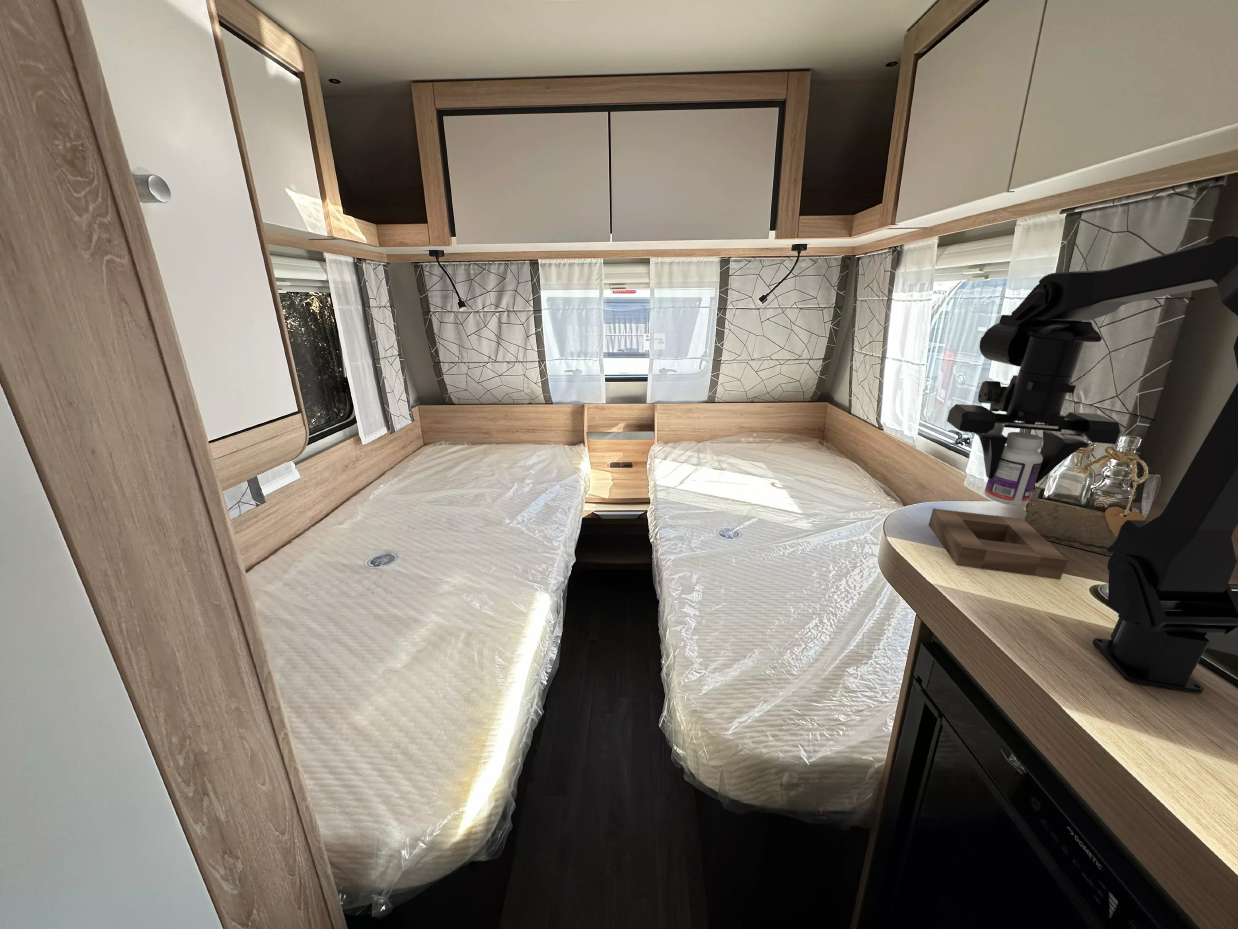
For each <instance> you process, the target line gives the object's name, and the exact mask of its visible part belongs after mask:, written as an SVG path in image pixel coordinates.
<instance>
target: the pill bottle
mask: <svg viewBox="0 0 1238 929" xmlns="http://www.w3.org/2000/svg"><path fill="white" fill-rule="evenodd" d="M1006 437H1007V438H1008V439H1007V442H1006V445H1005V448H1004V450H1003V453H1002V456H1001V459H1000V462H999V465H998V468H997V470H996V472H995V474H994V476H993V478H992V479H989V478H988V477H987V478H988V479H987V482H986V485H985V488H984V495H985V496H986V498H988V499H990V500H992V501H995V502H997V503H1000V504H1003V505H1004V504H1005V505H1009V506H1025V505H1027V504H1029V502H1030V499H1031V496H1032V494H1033V490H1034V487H1035V484H1036V483H1035V482H1036V479H1037V476H1038V473H1039V470H1040V467H1041V464H1042V460H1043V457H1042V455H1041V454H1040V452H1039V451H1038V450H1039V449H1040V450H1041V448H1042V445H1043V436H1042V437H1041V436H1039V435H1036V434H1032V433H1028V432H1021V431H1011V432H1008V433H1007V435H1006Z"/></svg>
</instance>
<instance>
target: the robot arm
mask: <svg viewBox="0 0 1238 929" xmlns="http://www.w3.org/2000/svg"><path fill="white" fill-rule="evenodd" d="M1213 287H1217V289H1218V294H1219V297H1220V302H1221V303H1222V305H1224V306H1225V307H1226V308H1227V309H1229V310H1230V311H1231V312H1232V313H1233V314H1234V315H1236V317H1238V232H1236V233H1235V232H1234V233H1230V234H1229V235H1225V236H1223V237H1221V238H1218V239H1216V240H1214V241H1211V242H1207V243H1202V244H1199V245H1196V246H1191V247H1188V248H1185V249H1181V250H1175V251H1172V252H1169V253H1165V254H1161V255H1158V256H1155V257H1154V256H1153V257H1151V258H1150V257H1149V258H1147V259H1142V260H1139V261H1136V262H1131V263H1128V264H1123V265H1120V266H1117V267H1116V266H1115V267H1112V268H1109V269H1103V270H1101V269H1100V270H1081V271H1078V270H1077V271H1062V272H1052V273H1049V274H1046V275H1045V276H1043V277H1042V278H1040V279H1039V281H1038V284H1036V286H1034V287H1033V289H1031V291H1030V292H1029V294H1027V296H1026V297H1025V298H1024V299H1023V301H1021V303H1020V304H1019V305H1018V306H1017V307H1016V308H1015V309H1014V310H1013V311H1012V312H1011V314H1001V315H1000V317H999V322H998V323H996V324H993V325H992V326H991V327H989V328H988V329H987V330H986V331H985V333H984V334H983V336H981V338H980V341H979V351H980V353H981V355H982V356H983V357H984V358H985V359H987V360H989V361H993V362H997V363H1000V364H1001V363H1003V364H1007V365H1010V366H1011V365H1012V366H1015V367H1019V371H1018V373H1017V374H1016V375H1015V374H1014V375H1012V378H1011V379H1010V382H1009V383H1008V386H1002V385H1001V381H998V380H997V381H996V380H984V381H982V382H981V385H980V388H979V391H978V397H977V401H978V403H979V404H990V405H989V409H988V408H987V407H985V406H983V405H977V404H976V405H975V404H964V403H963V404H958V403H956V404H955V405H953V406H952V407H950V409H949V411H948V415H947V418H946V422H947V423H948V424H950V425H951V426H952V427H954V428H955V429H957V431H960V432H965V433H973V434H975V435H977V437H978V438H979V440H980V444H981V448H982V452H983V453H982V454H983V461H984V469H985V476H986V478H989V479H992V478H993V476H994V474H995V472H996V470H997V468H998V465H999V462H1000V459H1001V456H1002V453H1003V450H1004V448H1005V446H1006V445H1007V444H1006V442H1007V439H1008V438H1007V436H1006V435H1004V434H1003V432H1004V428H1008V429H1022V430H1031V431H1032V430H1033V431H1034V430H1036V431H1042V438H1043V440H1042V445H1041V448H1040V452H1039V453H1040V454H1041V455H1042V457H1043V460H1042V464H1041V467H1040V470H1039V473H1038V476H1037V479H1036V482H1035V484H1038V483H1040V482H1041V481H1042V480H1043V479H1044V478H1045V477H1047V476H1048V475H1049V474H1050V472H1052V470H1054V469H1055V468H1056V467H1057V466H1059V465H1060V464H1061V463H1062V462H1064V461H1065V460H1066V459H1067V458H1069V457H1070V456H1071V455H1073V454H1074V453H1076V452H1077V451H1079V449H1083V448H1084V449H1088V447H1089V446H1090V444H1089V443H1088V442H1086V441H1084V439H1085V437H1086V438H1087V440H1088V441H1089V442H1090V443H1095V444H1096V443H1097V444H1106V445H1107V444H1109V445H1117V444H1118V442H1119V440H1120V438H1121V434H1122V432H1123V430H1122V427H1121V425H1120V423H1119V422H1118V421H1116V420H1114V419H1111V418H1109V417H1106V416H1104V415H1101V414H1098V413H1088V412H1087V413H1086V412H1074V411H1073V412H1071V411H1070V412H1068V413H1067V414H1066V415H1064V414H1062V409H1063V407H1064V403H1065V400H1066V398H1067V395H1068V394H1074V393H1075V390H1076V387H1077V386H1076V385H1075V384H1073V383H1072V381H1073V377H1074V374H1075V372H1076V371H1075V370H1076V368H1077V365H1078V362H1079V359H1080V356H1081V354H1082V353H1081V352H1082V350H1083V348H1084V344H1085V343H1100V342H1101V341H1102V340H1103V337H1102V336H1101V334H1100V332H1098V331H1097V330H1096V329H1095V328H1094V326H1093V324H1092V322H1091V321H1092V320H1096V319H1098V318H1101V317H1104V316H1106V315H1110V314H1113V313H1115V312H1116V311H1117V310H1119V309H1120V308H1121V307H1122V306H1125V305H1127V304H1131V303H1135V302H1140V301H1145V300H1150V299H1155V298H1160V297H1161V298H1162V297H1165V296H1171V295H1177V294H1182V293H1187V292H1192V291H1197V290H1202V289H1208V288H1213ZM1233 353H1234V357H1235V364H1236V368H1237V370H1238V333H1237V335H1236V338H1235V340H1234V343H1233ZM997 412H1002V413H997ZM1003 412H1005V413H1003ZM1237 526H1238V380H1237V382H1236V383H1235V386H1234V387H1233V389H1232V391H1231V393H1230V394H1229V396H1228V398H1227V399H1226V401H1225V403H1224V405H1223V406H1222V409H1220V412H1219V413H1218V415H1217V416H1216V418H1215V420H1214V422H1213V424H1212V426H1211V427H1210V429H1209V431H1208V432H1207V434H1206V436H1205V438H1204V440H1203V441H1202V443H1201V445H1200V446H1199V447H1198V450H1196V453H1195V455H1194V457H1193V458H1192V460H1191V462H1190V463H1189V464H1188V467H1187V469H1186V470H1185V472H1184V473H1183V474H1182V477H1181V479H1180V481H1179V482H1178V484H1177V486H1176V487H1175V489H1174V491H1173V492H1172V494H1171V495H1170V498H1169V500H1168V501H1167V503H1166V504H1165V507H1164V508H1163V510H1162V511H1161V513H1159V514H1158V515H1157V516H1155V517H1153V518H1152V519H1150V520H1148V519H1145V520H1144V519H1141V520H1140V519H1127V520H1125V521H1124V523H1123V524H1122V525H1121V526H1120V528H1119V531H1118V534H1117V537H1116V540H1114V542H1113V543H1112V544H1111V545H1110V546H1109V547H1107V548H1106V552H1108V553H1111V554H1110V556H1109V558H1108V560H1107V568H1106V569H1107V571H1108V586H1107V587H1108V591H1107V592H1108V593H1107V605H1108V606H1109V607H1110V608H1111V609H1113V610H1114V611H1116V613H1117V617H1118V620H1117V621H1116V624H1115V625H1114V627H1113V630H1112V632H1111V634H1110V639H1106V638H1100V637H1094V638H1093V641H1092V643H1093V644H1094V645H1095V647H1097V649H1099V651H1101V653H1102V654H1103V655H1104V656H1105V657H1106V658H1107V659H1108V661H1109V662H1111V664H1112V665H1113V666H1114V667H1115V668H1116V669H1117V671H1119V673H1121V674H1122V675H1123V677H1124V678H1125V679H1126V680H1128V681H1130V682H1133V683H1138V684H1144V685H1149V686H1155V687H1161V688H1168V689H1174V690H1180V691H1184V692H1192V693H1198V694H1202V693H1203V692H1204V690H1205V688H1204V687H1203V686H1202V685H1201V684H1200V683H1199V682H1198V681H1197V680H1196V679H1195V678H1193V677H1192V676H1193V673H1194V671H1195V669H1196V667H1197V666H1198V663H1199V661H1200V660H1201V659H1202V656H1203V654H1204V652H1205V650H1206V649H1207V647H1208V645H1209V643H1210V640H1209V639H1208V638H1207V634H1209V633H1211V634H1225V635H1233V634H1235V633H1236V632H1237V631H1238V600H1237V598H1236V596H1235V594H1234V591H1233V589H1232V588H1231V585H1230V580H1231V578H1232V575H1233V573H1234V570H1235V567H1236V565H1237V561H1238V559H1237V554H1236V549H1235V545H1234V540H1233V534H1234V531H1235V529H1236V528H1237Z"/></svg>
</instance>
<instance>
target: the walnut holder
mask: <svg viewBox="0 0 1238 929" xmlns="http://www.w3.org/2000/svg"><path fill="white" fill-rule="evenodd" d="M928 526H929V528H930V529H931V530H932V531H933V533H934V534H935V536H936V538H937V539H938V538H939V539H938V540H939V541H941V542H940V543H941V545H942V544H943V545H942V547H944V549H945V550H946V551H947V553H948V555H949V556H950V558H951V559H952V560H953V562H954V564H955V565H957V566H963V567H970V568H977V569H982V570H983V569H984V570H990V571H991V570H993V571H1000V572H1005V573H1014V574H1022V575H1027V576H1028V575H1029V576H1034V577H1035V576H1036V577H1045V578H1051V579H1058V580H1059V579H1060V580H1061V579H1062V576H1063V573H1064V571H1065V569H1066V566H1067V563H1068V559H1067V558H1066V557H1065V556H1064V555H1063V554H1061V552H1059V551H1058V549H1056V548H1055V547H1054V546H1053V545H1052V544H1051V543H1050V542H1049V541H1047V539H1045V538H1044V537H1043V536H1042V535H1041V534H1040V533H1039V532H1038V531H1037V530H1036V529H1035V528H1033V527H1032V526H1031V525H1030V523H1028V522H1027V521H1026V520H1025V519H1024V518H1019V517H1009V516H1004V515H1002V516H1001V515H993V514H984V513H978V512H977V513H976V512H968V511H967V512H965V511H958V510H948V509H943V508H942V509H941V508H932V511H931V515H930V519H929V521H928Z"/></svg>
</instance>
